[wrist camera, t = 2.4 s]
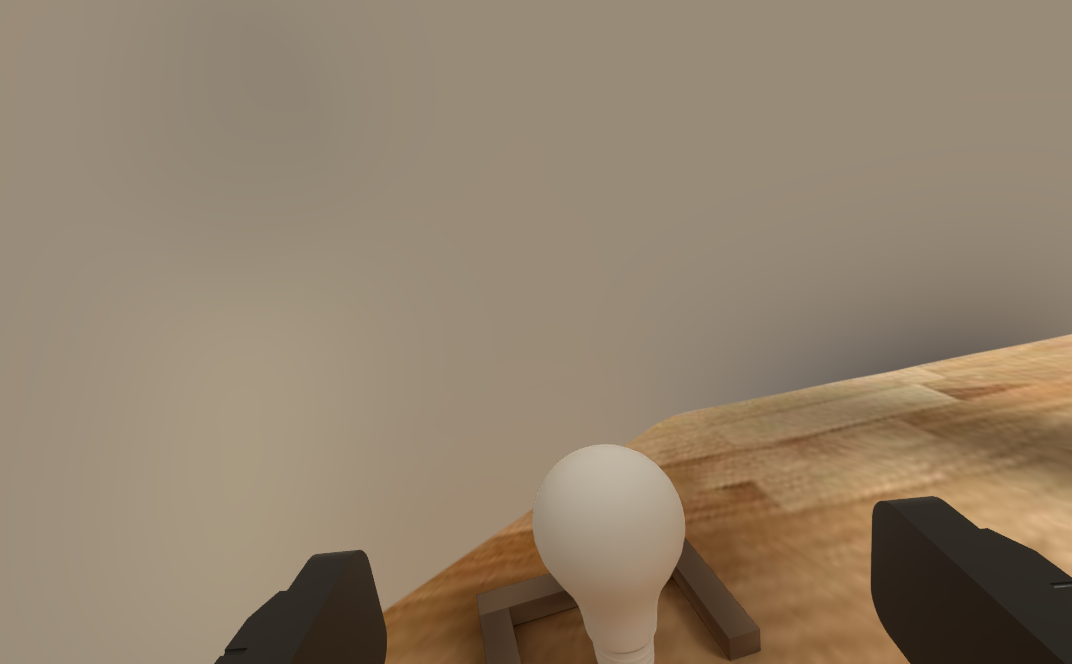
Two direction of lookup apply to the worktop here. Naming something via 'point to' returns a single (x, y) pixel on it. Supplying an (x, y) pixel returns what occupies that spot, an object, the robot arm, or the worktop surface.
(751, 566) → the worktop surface
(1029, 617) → the robot arm
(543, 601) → the walnut holder
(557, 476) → the lightbulb
